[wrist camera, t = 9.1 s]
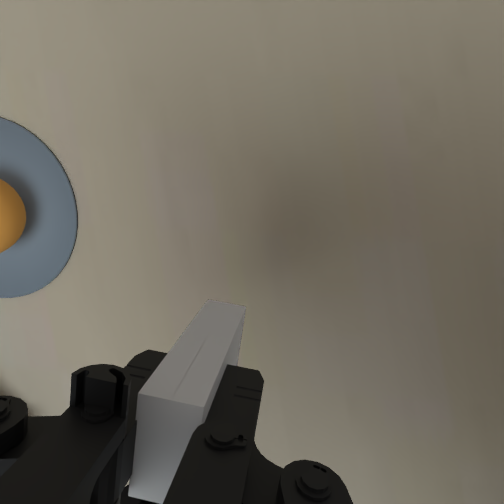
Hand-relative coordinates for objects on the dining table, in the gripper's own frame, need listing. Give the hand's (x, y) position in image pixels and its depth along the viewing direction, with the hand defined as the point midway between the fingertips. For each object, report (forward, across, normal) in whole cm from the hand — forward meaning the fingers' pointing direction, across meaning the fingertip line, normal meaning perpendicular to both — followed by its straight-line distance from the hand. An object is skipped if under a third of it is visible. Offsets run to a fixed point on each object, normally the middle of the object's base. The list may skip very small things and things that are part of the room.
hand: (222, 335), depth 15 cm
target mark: (+12, +19, -1) cm, 23 cm away
